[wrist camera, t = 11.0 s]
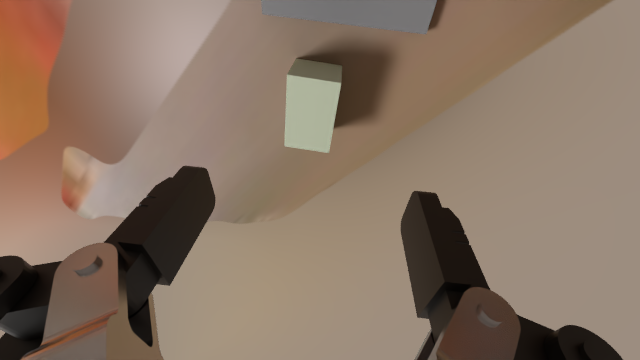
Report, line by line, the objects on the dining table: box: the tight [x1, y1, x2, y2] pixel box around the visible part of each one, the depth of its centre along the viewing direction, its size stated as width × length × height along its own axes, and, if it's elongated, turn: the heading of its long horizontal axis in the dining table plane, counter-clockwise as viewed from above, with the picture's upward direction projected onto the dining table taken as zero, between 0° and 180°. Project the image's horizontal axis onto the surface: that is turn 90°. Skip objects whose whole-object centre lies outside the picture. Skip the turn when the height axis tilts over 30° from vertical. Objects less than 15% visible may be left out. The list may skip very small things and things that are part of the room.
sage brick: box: [284, 58, 342, 153], centre depth 25 cm, size 4×7×5 cm, turn 173°
